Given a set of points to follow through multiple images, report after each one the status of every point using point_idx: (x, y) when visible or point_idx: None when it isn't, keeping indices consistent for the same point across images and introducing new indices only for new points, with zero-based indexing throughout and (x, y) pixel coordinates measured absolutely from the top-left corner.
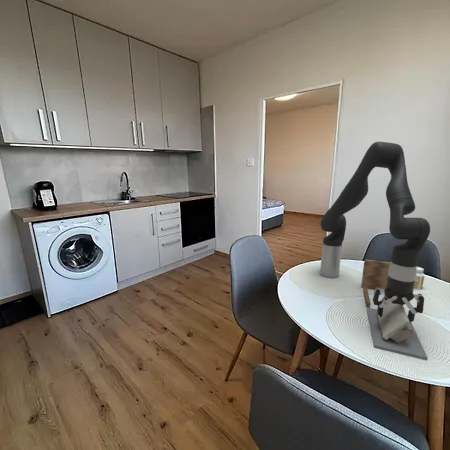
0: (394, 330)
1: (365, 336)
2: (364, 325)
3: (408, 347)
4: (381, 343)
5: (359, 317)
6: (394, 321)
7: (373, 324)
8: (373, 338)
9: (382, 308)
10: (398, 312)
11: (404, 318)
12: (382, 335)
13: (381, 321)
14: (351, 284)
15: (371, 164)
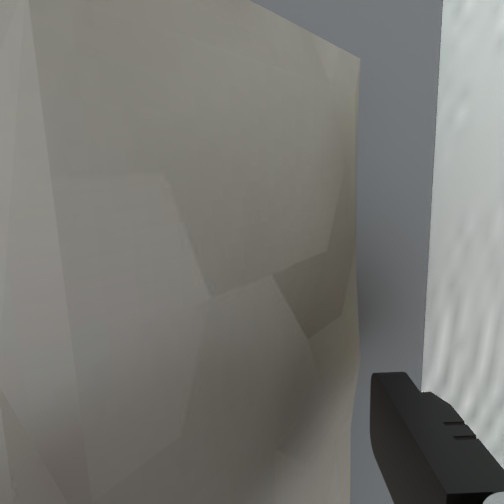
0: (256, 8)
1: (485, 115)
2: (463, 308)
3: None
4: (365, 4)
5: (487, 422)
6: (240, 214)
7: (392, 335)
8: (433, 66)
9: (458, 487)
10: (148, 450)
11: (4, 107)
12: (358, 97)
13: (346, 350)
14: None
15: None
